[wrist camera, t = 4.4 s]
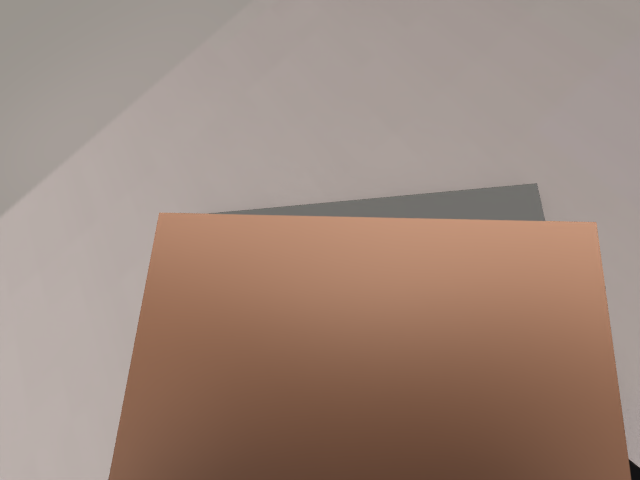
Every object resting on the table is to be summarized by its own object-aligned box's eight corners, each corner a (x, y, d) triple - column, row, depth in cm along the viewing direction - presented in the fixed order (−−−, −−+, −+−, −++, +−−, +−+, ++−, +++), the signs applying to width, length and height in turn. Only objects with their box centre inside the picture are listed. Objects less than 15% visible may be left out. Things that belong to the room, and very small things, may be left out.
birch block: (402, 377, 15) (695, 947, 2) (313, 367, 16) (63, 716, 3) (403, 286, 16) (595, 222, 3) (319, 281, 17) (159, 212, 4)
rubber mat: (654, 765, 12) (669, 790, 11) (174, 692, 15) (167, 708, 14) (531, 187, 17) (536, 183, 16) (197, 217, 20) (192, 215, 19)
